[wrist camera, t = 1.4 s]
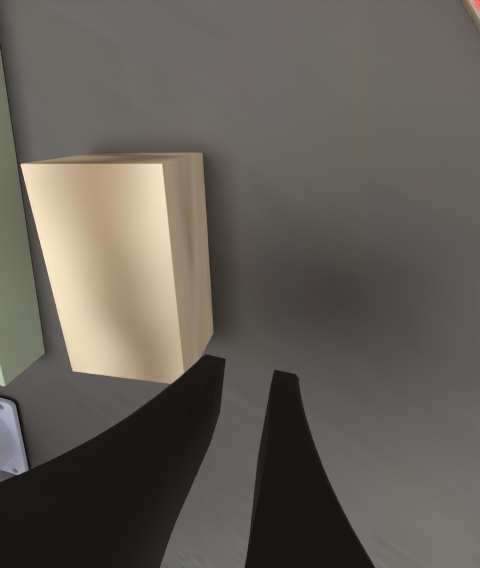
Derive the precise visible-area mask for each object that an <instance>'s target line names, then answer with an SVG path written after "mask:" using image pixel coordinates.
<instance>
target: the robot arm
mask: <svg viewBox="0 0 480 568" xmlns="http://www.w3.org/2000/svg"><path fill="white" fill-rule="evenodd" d="M225 360H226V359H224V358H219V357H215V356H210V355H204V356H202V357H201V358H200V359H199V360H198V361H197V362H196V363H195V364H194V365H193V366H191V367H190V368H189V369H188V370H187V371H186V372H185V373H184V374H182V375H181V376H180V377H179V378H178V379H177V380H175V381H174V382H173V383H172V384H171V385H169V386H168V387H167V388H166V389H164V390H163V391H162V392H161V393H159V394H158V395H157V396H156V397H154V398H153V399H152V400H150V401H149V402H148V403H146V404H145V405H143V406H142V407H141V408H139V409H138V410H137V411H135V412H134V413H132V414H131V415H129V416H128V417H126V418H125V419H123V420H122V421H120V422H119V423H117V424H116V425H114V426H113V427H111V428H109V429H108V430H106V431H104V432H103V433H101V434H99V435H98V436H96V437H94V438H92V439H91V440H89V441H87V442H85V443H83V444H81V445H80V446H78V447H76V448H74V449H72V450H70V451H68V452H66V453H64V454H62V455H61V456H59V457H57V458H54V459H52V460H50V461H48V462H46V463H44V464H41V465H39V466H37V467H35V468H33V469H30V470H29V469H28V464H27V459H26V454H25V449H24V444H23V439H22V434H21V429H20V424H19V419H18V414H17V409H16V405H15V404H14V402H12V401H11V400H7V399H4V398H0V471H1V470H2V471H6V472H9V473H13V474H16V476H14V477H12V478H9V479H7V480H4V481H2V482H0V568H160V565H161V562H162V559H163V556H164V553H165V550H166V547H167V544H168V541H169V539H170V536H171V533H172V530H173V528H174V525H175V523H176V520H177V518H178V515H179V513H180V511H181V509H182V506H183V504H184V502H185V500H186V497H187V495H188V493H189V491H190V488H191V486H192V484H193V481H194V479H195V477H196V475H197V472H198V470H199V468H200V466H201V463H202V461H203V459H204V456H205V454H206V452H207V449H208V447H209V445H210V442H211V439H212V436H213V433H214V430H215V426H216V423H217V420H218V416H219V413H220V406H221V397H222V388H223V378H224V369H225ZM245 568H375V567H374V565H373V563H372V561H371V560H370V558H369V556H368V555H367V553H366V551H365V549H364V548H363V546H362V544H361V542H360V541H359V539H358V537H357V535H356V534H355V532H354V530H353V529H352V527H351V525H350V523H349V521H348V519H347V517H346V515H345V513H344V511H343V509H342V507H341V505H340V503H339V501H338V499H337V497H336V495H335V493H334V491H333V488H332V486H331V484H330V482H329V480H328V477H327V475H326V473H325V470H324V468H323V465H322V463H321V460H320V458H319V455H318V452H317V450H316V447H315V444H314V441H313V438H312V435H311V432H310V429H309V426H308V422H307V419H306V416H305V412H304V408H303V404H302V399H301V394H300V388H299V378H298V377H297V375H296V374H292V373H287V372H283V371H278V370H274V374H273V378H272V382H271V387H270V393H269V398H268V404H267V410H266V415H265V421H264V426H263V432H262V438H261V443H260V449H259V455H258V463H257V472H256V481H255V490H254V500H253V509H252V518H251V527H250V537H249V544H248V551H247V558H246V563H245Z"/></svg>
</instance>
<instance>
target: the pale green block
mask: <svg viewBox="0 0 480 568" xmlns="http://www.w3.org/2000/svg"><path fill="white" fill-rule="evenodd" d="M44 354H45V350H44V343H43V336H42V330H41V323H40V316H39V309H38V302H37V296H36V289H35V282H34V275H33V268H32V262H31V255H30V248H29V241H28V234H27V227H26V221H25V214H24V207H23V200H22V193H21V187H20V180H19V173H18V166H17V159H16V153H15V146H14V139H13V132H12V125H11V118H10V112H9V105H8V98H7V91H6V84H5V78H4V71H3V64H2V57H1V50H0V385H2V386H6V385H7V384H9V383H10V382H11V381H12V380H13V379H15V378H16V377H17V376H18V375H19V374H21V373H22V372H23V371H24V370H25V369H27V368H28V367H29V366H30V365H32V364H33V363H34V362H35V361H36V360H38V359H39V358H40V357H41V356H42V355H44Z"/></svg>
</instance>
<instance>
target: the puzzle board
mask: <svg viewBox="0 0 480 568" xmlns="http://www.w3.org/2000/svg"><path fill="white" fill-rule="evenodd" d="M461 1H462V2H463V4H464V6H465V8H466V9H467V11H468V13H469V14H470V16H471V18H472V20H473V21H474V23H475V25H476V26H477V28H478V30H479V32H480V0H461Z"/></svg>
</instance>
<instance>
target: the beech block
mask: <svg viewBox="0 0 480 568" xmlns="http://www.w3.org/2000/svg"><path fill="white" fill-rule="evenodd" d="M21 168H22V172H23V176H24V180H25V184H26V188H27V192H28V195H29V199H30V203H31V207H32V211H33V215H34V219H35V223H36V227H37V231H38V235H39V239H40V243H41V247H42V251H43V255H44V259H45V263H46V267H47V271H48V275H49V279H50V283H51V287H52V291H53V295H54V299H55V303H56V307H57V311H58V315H59V319H60V323H61V327H62V331H63V335H64V339H65V343H66V347H67V351H68V354H69V358H70V362H71V366H72V370H73V371H76V372H83V373H91V374H99V375H107V376H114V377H122V378H130V379H138V380H145V381H153V382H161V383H169V384H172V383H173V382H174V381H175V380H177V379H178V378H179V377H180V376H181V375H182V374H184V373H185V372H186V371H187V370H188V369H189V368H190V367H191V366H193V365H194V364H195V363H196V362H197V361H198V360H199V359H200V357H201V355H202V354H203V352H204V350H205V348H206V346H207V344H208V342H209V341H210V339H211V337H212V335H213V333H214V332H213V315H212V299H211V282H210V266H209V250H208V233H207V217H206V200H205V184H204V168H203V153H90V154H83V155H77V156H70V157H63V158H57V159H50V160H43V161H37V162H30V163H23V164H21Z"/></svg>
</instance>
